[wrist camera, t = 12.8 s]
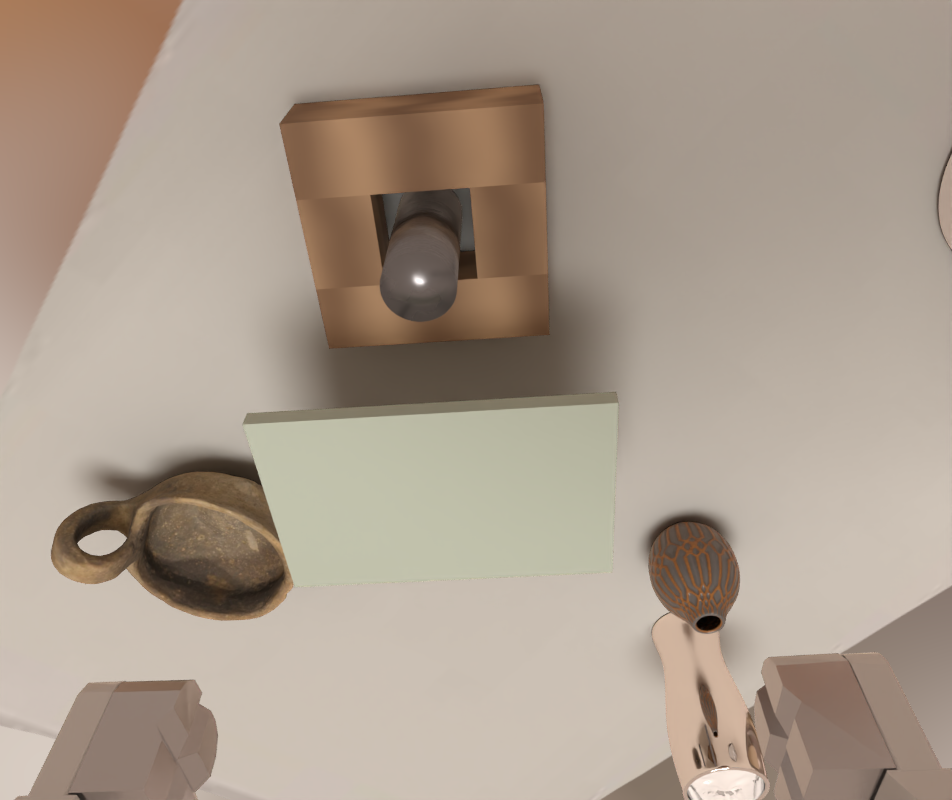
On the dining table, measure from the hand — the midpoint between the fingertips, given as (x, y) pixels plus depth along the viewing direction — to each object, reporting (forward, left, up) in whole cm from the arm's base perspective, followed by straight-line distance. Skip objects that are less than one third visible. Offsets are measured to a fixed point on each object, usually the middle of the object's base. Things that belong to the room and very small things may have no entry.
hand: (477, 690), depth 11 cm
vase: (-14, +38, -39) cm, 56 cm away
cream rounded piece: (-15, +50, -39) cm, 65 cm away
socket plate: (+4, +8, -39) cm, 40 cm away
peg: (+4, +8, -39) cm, 40 cm away
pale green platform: (+4, +20, -39) cm, 44 cm away
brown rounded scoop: (+25, +31, -39) cm, 56 cm away
